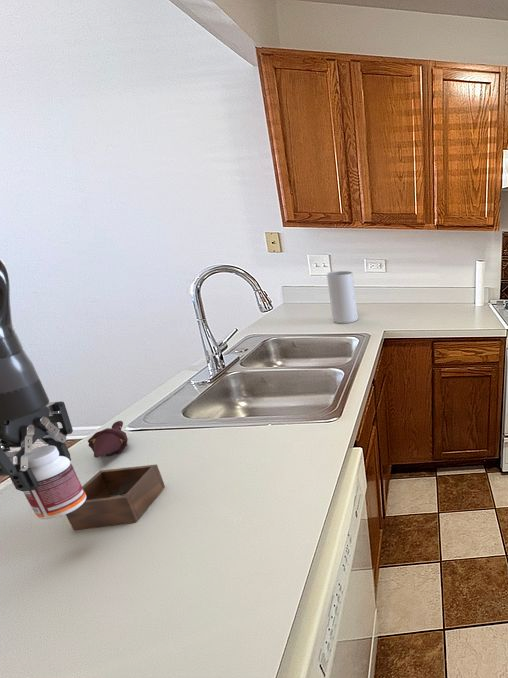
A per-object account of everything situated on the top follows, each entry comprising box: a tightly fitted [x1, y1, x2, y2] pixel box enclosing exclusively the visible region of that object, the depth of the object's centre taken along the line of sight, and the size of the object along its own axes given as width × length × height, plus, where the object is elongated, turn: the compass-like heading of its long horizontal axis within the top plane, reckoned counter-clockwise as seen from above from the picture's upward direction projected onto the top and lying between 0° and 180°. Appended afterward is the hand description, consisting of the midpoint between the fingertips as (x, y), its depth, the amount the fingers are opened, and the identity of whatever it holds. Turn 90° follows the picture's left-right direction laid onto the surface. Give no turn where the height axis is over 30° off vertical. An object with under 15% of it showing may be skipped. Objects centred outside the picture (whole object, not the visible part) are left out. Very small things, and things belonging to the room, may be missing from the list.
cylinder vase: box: [326, 270, 359, 324], centre depth 206 cm, size 12×12×25 cm
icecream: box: [87, 420, 129, 459], centre depth 97 cm, size 7×7×15 cm
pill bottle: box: [14, 445, 86, 520], centre depth 65 cm, size 6×6×11 cm
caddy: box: [65, 464, 166, 531], centre depth 80 cm, size 11×11×6 cm
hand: (47, 475), depth 65 cm, fingers closed on pill bottle, 6 cm apart
